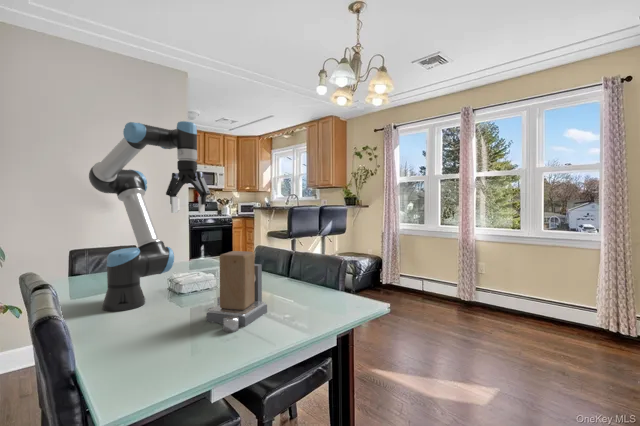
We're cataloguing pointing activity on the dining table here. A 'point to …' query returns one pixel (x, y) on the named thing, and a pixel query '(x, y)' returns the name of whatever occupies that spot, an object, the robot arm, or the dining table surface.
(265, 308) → the base
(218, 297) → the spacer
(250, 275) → the wooden block
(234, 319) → the cylinder
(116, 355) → the dining table surface
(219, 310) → the pan
